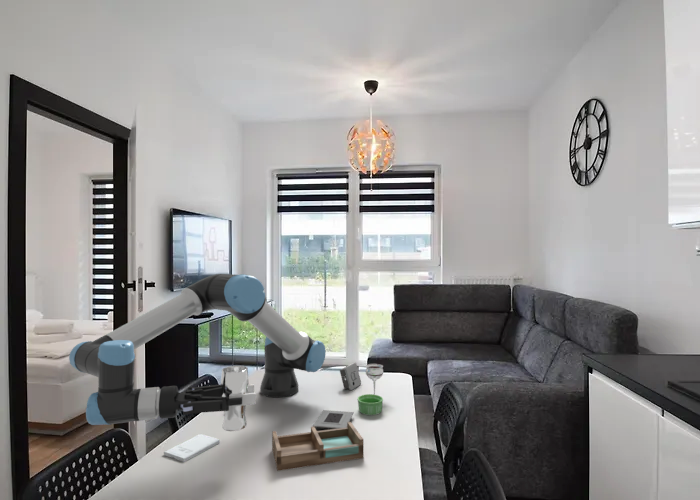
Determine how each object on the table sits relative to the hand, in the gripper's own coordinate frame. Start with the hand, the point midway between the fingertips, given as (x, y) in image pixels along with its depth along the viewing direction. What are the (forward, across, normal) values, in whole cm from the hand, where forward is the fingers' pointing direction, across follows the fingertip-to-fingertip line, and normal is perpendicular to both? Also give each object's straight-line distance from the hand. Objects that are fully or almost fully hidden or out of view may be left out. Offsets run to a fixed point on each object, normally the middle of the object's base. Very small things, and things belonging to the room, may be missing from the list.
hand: (254, 393), depth 108 cm
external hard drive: (-16, -12, -19) cm, 28 cm away
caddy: (+17, +1, -18) cm, 24 cm away
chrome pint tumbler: (-5, 0, -8) cm, 10 cm away
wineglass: (+47, -37, -18) cm, 62 cm away
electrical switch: (+42, -52, -18) cm, 69 cm away
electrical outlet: (+26, -18, -18) cm, 37 cm away
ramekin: (+41, -25, -18) cm, 51 cm away
